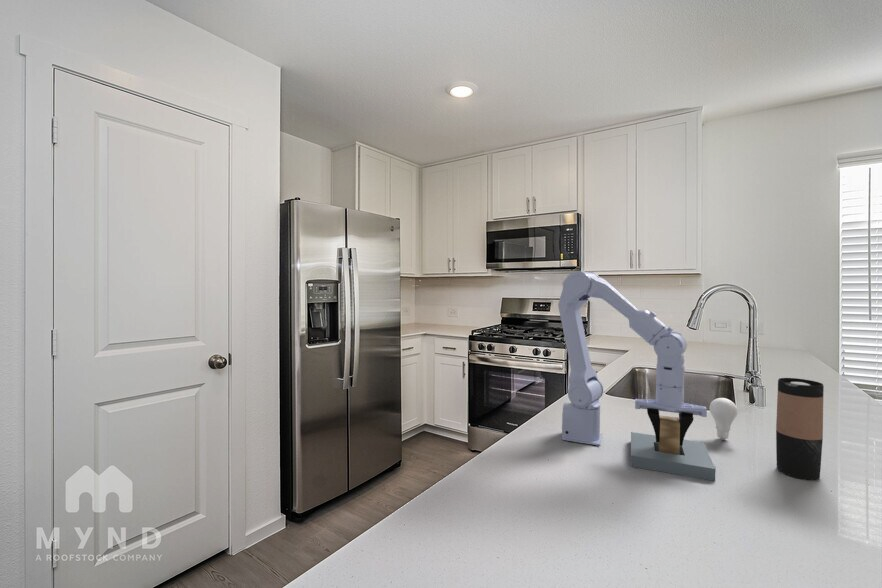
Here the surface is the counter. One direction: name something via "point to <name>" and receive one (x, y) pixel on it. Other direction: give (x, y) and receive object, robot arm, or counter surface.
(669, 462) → the socket block
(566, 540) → the counter surface
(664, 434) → the peg
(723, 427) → the lightbulb
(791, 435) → the travel mug
